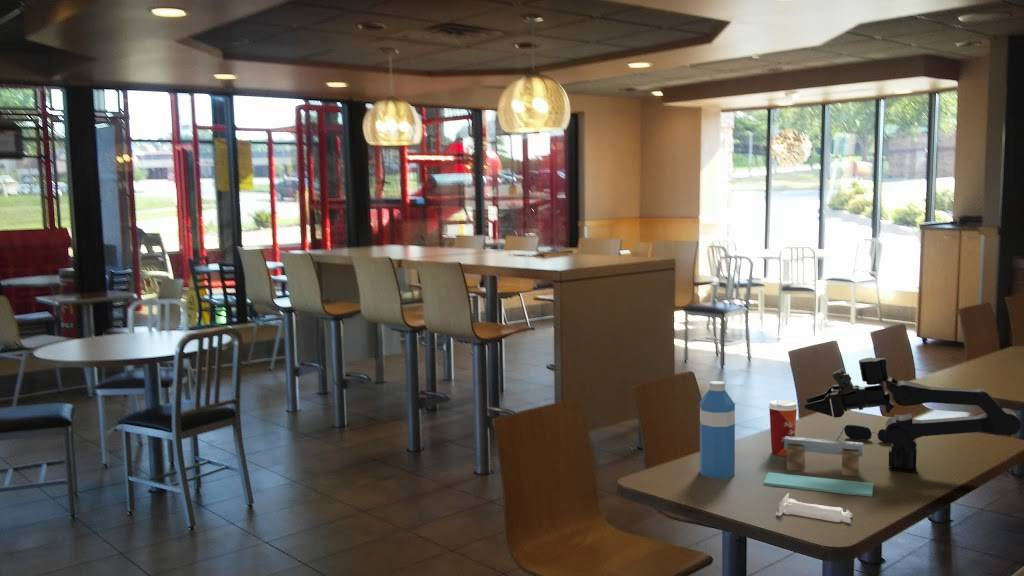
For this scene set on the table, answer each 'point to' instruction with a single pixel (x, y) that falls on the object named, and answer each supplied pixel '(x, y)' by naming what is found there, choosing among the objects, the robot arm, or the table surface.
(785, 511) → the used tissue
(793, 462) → the stand
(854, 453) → the stand
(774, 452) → the coffee cup
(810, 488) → the mat
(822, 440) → the rail
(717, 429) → the water bottle
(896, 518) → the table surface
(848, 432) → the sunglasses
